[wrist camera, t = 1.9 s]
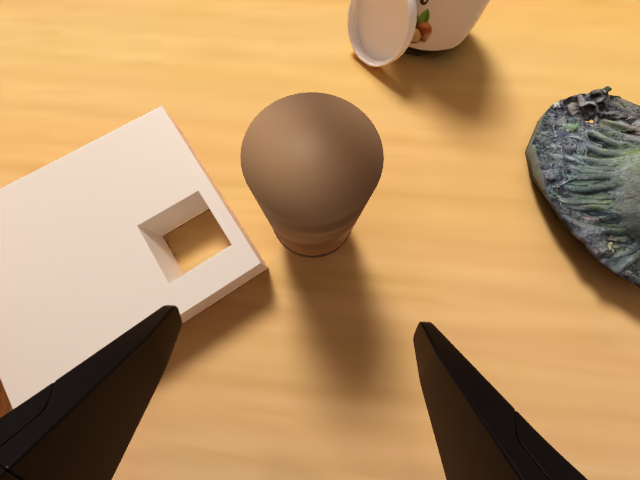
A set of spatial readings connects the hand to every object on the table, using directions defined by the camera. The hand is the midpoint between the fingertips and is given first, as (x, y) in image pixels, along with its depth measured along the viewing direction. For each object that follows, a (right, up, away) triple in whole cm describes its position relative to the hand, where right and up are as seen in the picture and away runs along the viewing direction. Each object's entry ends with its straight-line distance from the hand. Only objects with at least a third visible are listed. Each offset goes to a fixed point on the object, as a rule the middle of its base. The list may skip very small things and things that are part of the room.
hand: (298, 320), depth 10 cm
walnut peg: (0, +4, +14) cm, 15 cm away
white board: (-16, +2, +13) cm, 21 cm away
